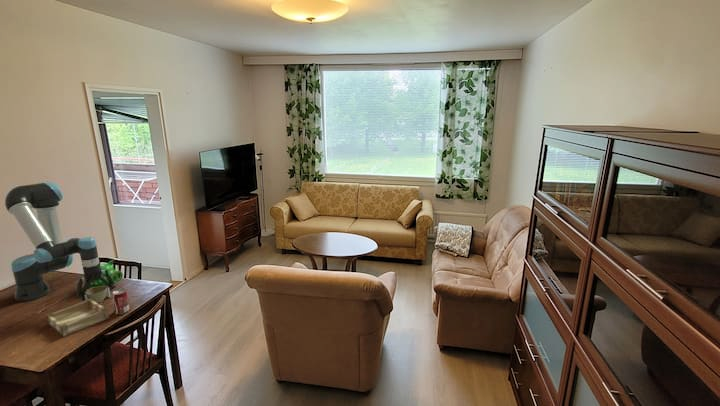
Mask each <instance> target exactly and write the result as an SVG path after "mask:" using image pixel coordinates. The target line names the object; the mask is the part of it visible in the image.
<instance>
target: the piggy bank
mask: <svg viewBox="0 0 720 406" xmlns="http://www.w3.org/2000/svg"><path fill="white" fill-rule="evenodd" d="M113 264H114V259H111V260H110V261H108V262H107V263H105V264H100V268H101V271H103V270H104V269H106V270H108V274H109V275H110V277H111V278H112V280H113V282H114V284H112V285H115V284H117V283H118V282H121V280H122V279H123V277H124V274H123V272H122V270H116V268H115V267H114V266H113ZM101 277H102V278H103V279H104V280H105V281H107V282H108V283H110V282H109V280H108V279H107V277H106V276H105V274H103V273H102V274H101ZM83 281H84V282H85V281H86V279H84V280H83ZM97 286H107V285H106V284H105V283H103V282H102V281H101V280H100V279H98V280H95V281H93V282H91V283H90V284H89V286H88V289H90V288H93V287H97Z"/></svg>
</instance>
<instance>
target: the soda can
mask: <svg viewBox="0 0 720 406" xmlns="http://www.w3.org/2000/svg"><path fill="white" fill-rule="evenodd" d="M110 298H111V302H112V307H113V313H114V314H115V315H123V314H125V313H127V312H128V311H130V304H129V297H128V293H127V291H125V289H123V288H121V289H116V290H113V291H112V293H111V297H110Z"/></svg>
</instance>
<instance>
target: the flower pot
mask: <svg viewBox="0 0 720 406" xmlns="http://www.w3.org/2000/svg"><path fill="white" fill-rule="evenodd" d="M85 294H86V295H87V300H88V299H90V298H91V299H92V300H93V301H95V302H96V303H98V304H100V303H102V302H103V301H104V300H105V298H106V296H107V287H106V286H97V287H93V288H88V289H87V291H86V293H85Z"/></svg>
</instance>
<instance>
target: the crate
mask: <svg viewBox="0 0 720 406" xmlns="http://www.w3.org/2000/svg"><path fill="white" fill-rule="evenodd" d="M109 318H110V317H109V310H108V308H107V307H104V306H103V305H101V304H100V303H96V302H95V301H93V300H92V299H91V298H90V299H88V298H87V301H82V302H79V303H76V304H74V305H71V306H68V307H66V308H62V309H60V310H57V311H55V312H50V313H47V314H46V319H47V324H48V325H49V326H50V327H52V329H54V330H55V331H56V332H57V333H59V334H60V335H61V336H62V337H63V338H65V337H67V336H69V335H72V334H74V333H78V331H81V330H83V329H86V328H88V327H90V326H93V325H95V324H97V323H100V322H102V321H104V320H105V321H106V320H107V319H109Z"/></svg>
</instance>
